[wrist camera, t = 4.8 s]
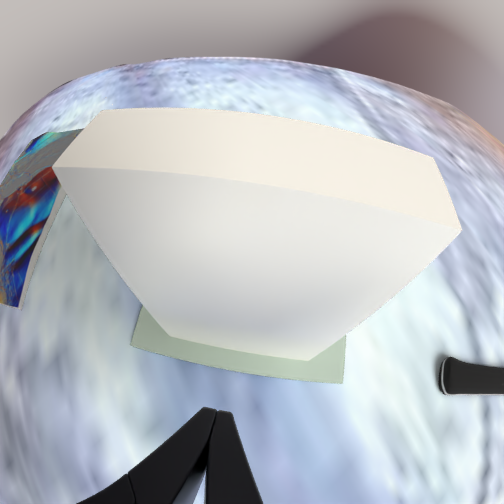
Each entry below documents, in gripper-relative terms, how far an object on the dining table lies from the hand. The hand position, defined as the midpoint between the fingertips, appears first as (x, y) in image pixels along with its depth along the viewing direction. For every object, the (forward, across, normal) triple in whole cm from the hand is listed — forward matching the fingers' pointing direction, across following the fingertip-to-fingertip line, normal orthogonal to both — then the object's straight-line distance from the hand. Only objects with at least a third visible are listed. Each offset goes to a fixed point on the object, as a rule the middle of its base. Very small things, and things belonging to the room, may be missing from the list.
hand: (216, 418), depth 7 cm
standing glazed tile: (+10, 0, +3) cm, 10 cm away
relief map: (+17, +28, -2) cm, 33 cm away
